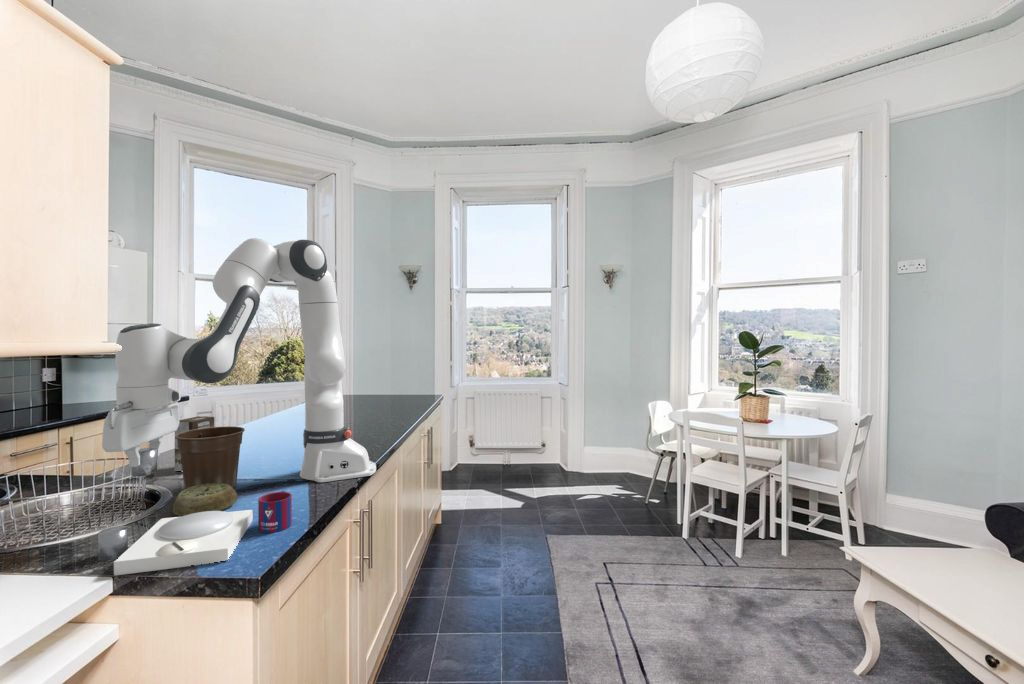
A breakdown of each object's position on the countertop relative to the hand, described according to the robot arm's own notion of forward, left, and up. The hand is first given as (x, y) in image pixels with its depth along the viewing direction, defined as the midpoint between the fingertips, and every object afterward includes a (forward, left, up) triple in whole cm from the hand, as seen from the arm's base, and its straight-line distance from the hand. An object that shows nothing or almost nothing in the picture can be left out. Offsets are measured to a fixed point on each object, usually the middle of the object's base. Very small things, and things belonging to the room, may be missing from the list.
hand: (144, 461), depth 99 cm
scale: (-12, +9, -16) cm, 21 cm away
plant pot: (-5, -28, -16) cm, 33 cm away
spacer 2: (0, 0, -3) cm, 3 cm away
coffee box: (+6, -51, -16) cm, 54 cm away
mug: (-27, +3, -16) cm, 31 cm away
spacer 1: (+1, +10, -16) cm, 19 cm away
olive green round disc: (-8, -13, -16) cm, 22 cm away
